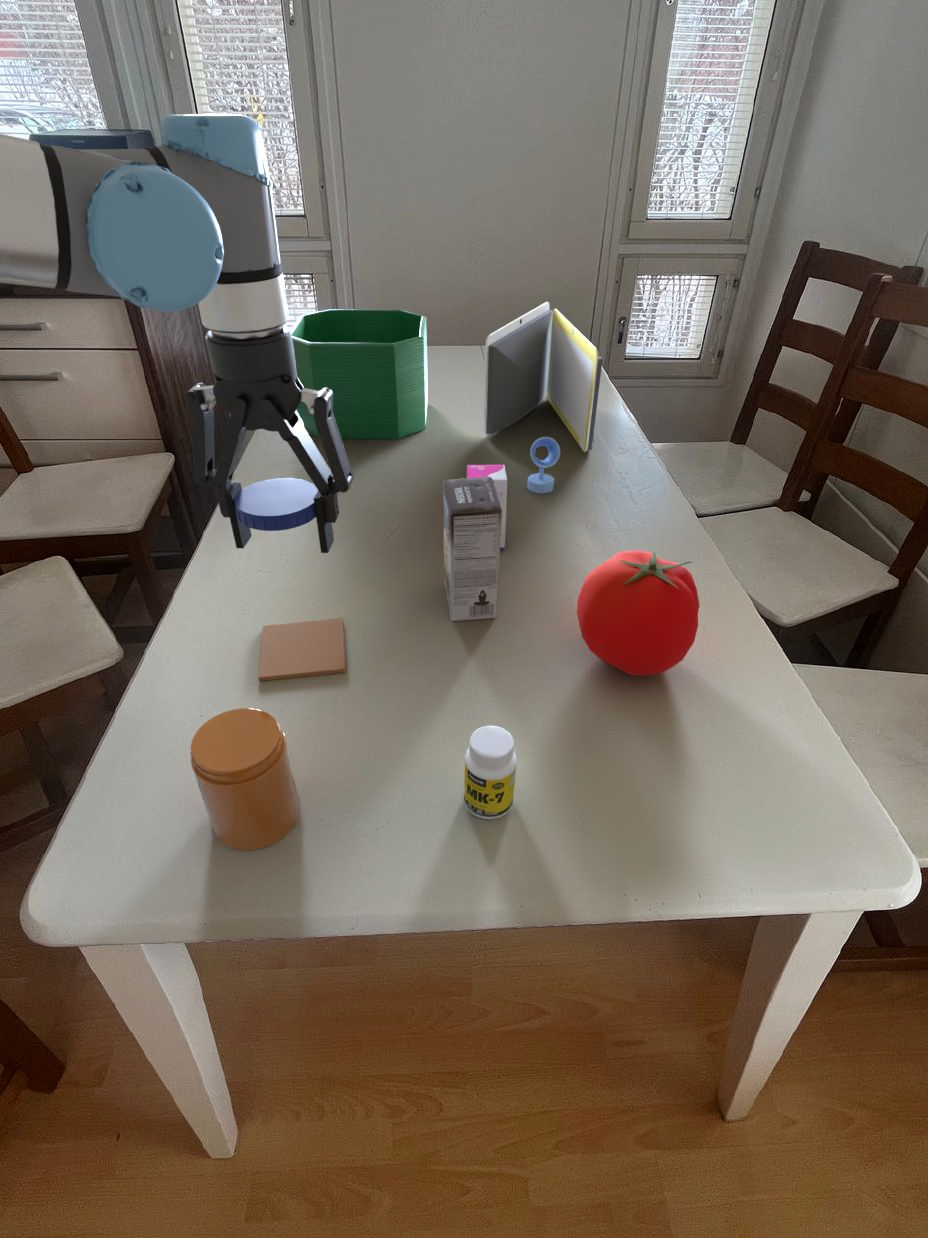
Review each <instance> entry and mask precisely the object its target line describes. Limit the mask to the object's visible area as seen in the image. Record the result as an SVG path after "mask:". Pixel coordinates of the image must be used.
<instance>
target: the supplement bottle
mask: <svg viewBox="0 0 928 1238" xmlns="http://www.w3.org/2000/svg"><path fill="white" fill-rule="evenodd" d="M516 773H517V755H516V752H515V741H514V738H513V736H512V734H511V733H510V732H509V731H508V730H507V729H505V728H503V727H500V726H496V725H485V726H482V727H479V728H477V729H476V730H475V731H473V733H472V734H471V736H470V738H469V746H468V748H467V750H466V752H465V756H464V776H463V777H464V779H463V781H464V782H463V801H464V805H465V807H466V809H467V810H468V812H470V813H471V814H472V815H474V816H475V817H477V818H479V819H483V820H494V819H499V818H502V817H504V816H505V815H506V814H507V813H508V812H509V811H510V810H511V808H512V806H513V803H514V796H515V795H514V793H515V785H516V775H517V774H516Z"/></svg>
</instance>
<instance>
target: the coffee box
mask: <svg viewBox="0 0 928 1238" xmlns="http://www.w3.org/2000/svg"><path fill="white" fill-rule="evenodd" d="M442 507H443V508H442V513H443V515H442V517H443V519H442V520H443V521H442V522H443V523H442V525H443V582H444V588H445V594H446V599H447V600H446V601H447V605H448V610H449V611H448V612H449V618H450V621H451V622H460V621H461V622H462V621H472V620H473V621H474V620H485V619H486V620H487V619H496V618H497V617H498V599H499V597H498V596H499V595H498V594H499V580H500V579H499V578H500V577H499V575H500V562H501V561H500V559H501V558H500V557H501V551H500V545H501V526H502V507H501V504H500V501H499V498H498V495H497V492H496V489H495V486H494V483H493V480H492V478H491V477H480V478H467V477H465V478H463V477H462V478H456V479H443V480H442Z"/></svg>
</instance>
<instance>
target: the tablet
mask: <svg viewBox="0 0 928 1238" xmlns="http://www.w3.org/2000/svg"><path fill="white" fill-rule="evenodd" d="M484 349H485V350H484V351H485V352H484V355H485V356H484V357H485V358H484V400H483V401H484V403H483V405H484V406H483V407H484V409H483V434H484V436H489V435H494V434H496V433H498V432H500V431H501V430H503V429H505V428H507V427H509V426H511V425H513V424H514V423H517V422H518V421H520V420H521V419H523V418H524V417H525V416H526V415H528V413H530V412H532V410H533V409H535V408H536V407H537V406H538V405H539V404H540V402H541V400H542V399H543V397H544V395H545V394H546V398H547V401H548V402H549V403H550V405H551V407H552V408H553V409H554V411H555V412H556V414H557V415H558V416H559V418H560V419H561V421H562V423H563V424H564V426H566V428H567V430H568V431H569V432H570V434H571V436H572V437H573V439H574V440H575V441H576V443H577V444H578V446H579V447H580V449H581V450H582V452H584V453H585V452H587V451H591V450H592V449H593V441H594V435H595V426H596V416H597V409H598V401H599V400H598V399H599V392H600V383H601V376H602V375H601V374H602V367H603V358H602V357H601V356H600V355H599V350H598V349H597V347H596V346H595V345H594V344H593V343H591V341H590V340H589V339H587V338H586V336H585V335H584V334H582V333H581V331H579V330H578V329H577V327H575V326H574V325H573V324H572V322H570V320H568V319H567V317H565V316H564V315H563V314H562V313H561V312H560V311H559V310H558V309H557V308H554V309H553V310H552V309H550V302H549V301H546V302H544V303H541V304H540V305H539V306H537V307H535V308H534V309H531V310H530V311H528V312H526V313H524V314H523V315H521V316H519V317H517V318H516V319H514V320H512V321H510V322H509V323H507V324H506V325H504V326H501V327H500V328H499V329H497V330H494V331H493V332H492V333H489V334H488V335H487V336H486V339H485V348H484Z"/></svg>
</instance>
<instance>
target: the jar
mask: <svg viewBox="0 0 928 1238" xmlns="http://www.w3.org/2000/svg"><path fill="white" fill-rule="evenodd" d="M190 765H191V769H192V771H193V774H194V775H193V776H194V777H195V780H196V781H195V782H196V783H197V787H198V789H199V792H200V796H201V797H202V801H203V803H204V806H205V809H206V812H207V815H208V818H209V821H210V824H211V827H212V830H213V833H214V835H215V837H216V838H217V840H218V841H219V842H221V843H222V844H223V845H225V846H226V847H227V848H230V849H234V850H236V851H245V852H247V851H248V852H249V851H256V850H257V851H258V850H261V849H265V848H267V847H270V846H272V845H274V844H276V843H277V842H279V841H280V840H282V839H283V838H285V837H286V836H287V835H288V834H289V833H290V831H292V829H293V828H294V826H295V825H296V823H297V821H298V818H299V815H300V809H301V807H300V800H299V794H298V789H297V785H296V780H295V776H294V771H293V766H292V761H291V757H290V752H289V748H288V743H287V739H286V735H285V733H284V731H283V729H282V728H281V727H280V725H279V722H278V720H277V719H276V718H275V717H274V716H273V715H271V714H269V712H267V711H264V710H262V709H258V708H252V707H249V708H248V707H242V708H234V709H230V710H227V711H224V712H221V713H218V714H217V715H214V716H212V717H211V718H210V719H208V720H207V721H206V722H204V723H203V724H202V725H201V726H200V727H199V728H198V729H197V730H196V732H195V733H194V735H193V737H192V740H191V744H190Z"/></svg>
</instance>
